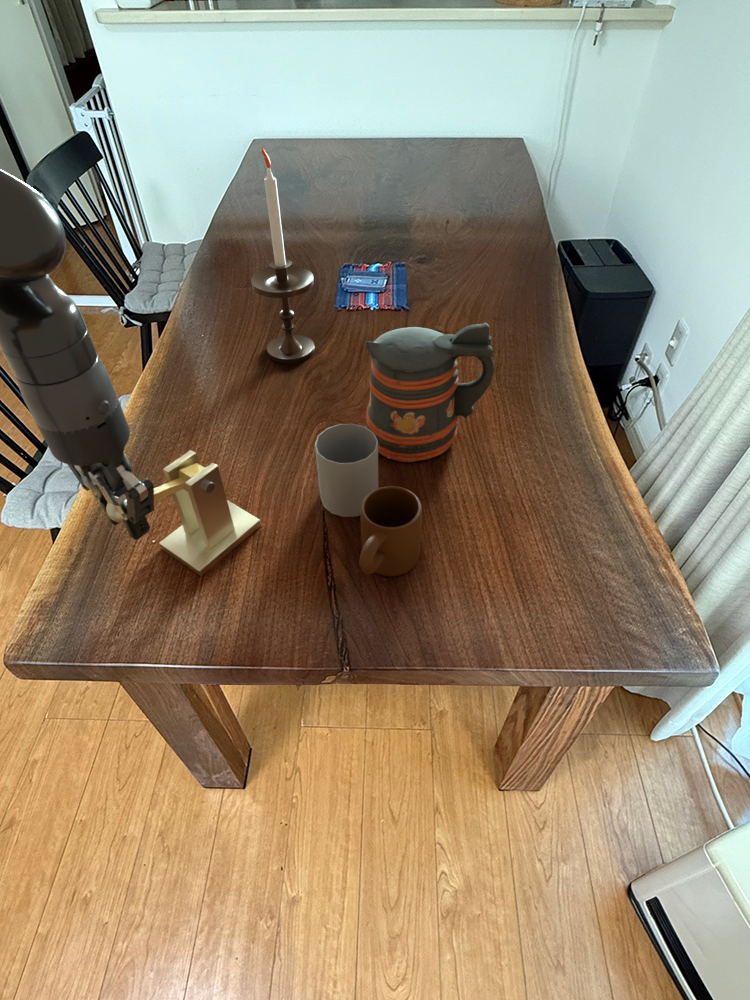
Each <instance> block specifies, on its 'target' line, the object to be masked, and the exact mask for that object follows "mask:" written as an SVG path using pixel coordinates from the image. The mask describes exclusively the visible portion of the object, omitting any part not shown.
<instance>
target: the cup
mask: <svg viewBox="0 0 750 1000" xmlns="http://www.w3.org/2000/svg"><path fill="white" fill-rule="evenodd" d="M314 451H315V458H316V459H315V460H316V461H315V462H316V468H317V469H316V470H317V479H318V487H319V488H318V489H319V498H320V501H321V505H322V507H323V508H325V510H327V512H329V513H330V514H331V515H336V516H339V517H341V518H355V517H359V516H361V505H362V502H363V500H364V498H365V497H366V496H367V495H368V494H369V493H370V492H371V491H373V490H375V489H377V488H379V453H378V441H377V438H376V436H375V434H374V433H373V432H372V431H370V430H369V429H367V428H366V427H365V426H363V425H360V424H355V423H339V424H336V425H332V426H330V427H326V428H325V429H324V430H323V431H322V432H321V433H319V434H318V435H317V436H316V440H315V442H314Z"/></svg>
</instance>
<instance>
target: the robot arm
mask: <svg viewBox="0 0 750 1000" xmlns="http://www.w3.org/2000/svg"><path fill="white" fill-rule="evenodd" d="M66 239H67V238H66V231H65V229H64V226H63V222H62V221H61V219H60V217H59V215H58V213H57V212H56V210H55V208H54V207H53V206H52V205H51V203H50V202H49V201H48V200H47V199H46V198H45V197H44V196H43V195H42V194H41V193H40V192H39V191H37V190H36V189H35V188H34V187H31V186H30V185H29V184H27V183H25V182H24V181H22V180H20V179H18V178H17V177H15V176H14V175H11V174H10V173H8V172H6V171H4V170H2V169H0V350H1V353H2V354H3V357H4V358H5V361H7V364H8V365H9V368H10V369H11V372H12V374H13V375H14V378H15V380H16V382H17V385H18V388H19V392H20V394H21V397H22V399H23V401H24V404H25V405H26V407H27V409H28V411H29V413H30V415H31V417H32V419H33V420H34V423H35V424H36V426H37V428H38V430H39V432H40V433H41V436H42V438H43V440H44V441H45V443H46V445H47V447H48V449H49V451H50V453H51V454H52V456H53V458H55V459H56V460H58V461H59V462H61V463H63V464H65V465H67V466H68V467H69V469H70V470H71V472H72V473H73V475H74V476H75V477H76V479H77V481H78V482H79V483H80V485H81V488H83V490H85V491H86V492H88V491H91V494H92V497H93V498H94V500H96V501H97V502H99V504H100V506H101V508H102V509H103V511H104V514H105V516H106V518H107V520H108V521H109V523H111V524H112V525H114V526H117V525H118V524H119V523H118V522H115V521H113V520H112V519H110V517H109V516H108V514H107V511H106V506H107V503H108V502H109V503H111V504H112V505H114V506H116V508H117V510H118V512H119V513H120V516H121V517H122V519H123V522H124V523H123V524H124V526H125V528H126V530H127V532H128V535H129V536H130V538H132V539H133V540H135V541H138V540H139V539H141V538H142V537H143V536H145V535H146V534H148V533H149V532H150V531H151V526H150V524H149V521H148V518H147V517H146V516H147V515H149V514H151V513H152V512H153V511H155V502H154V488H155V487H154V483H153V482H152V480H150V479H149V478H147V477H146V478H143V480H141V481H140V480H139V479H138V478H137V477H136V476H135V475H136V474H134V472H133V467H132V463H131V461H130V459H129V457H128V455H127V454H126V453H125V452H124V451H125V449H126V446H127V443H129V439H130V436H131V429H130V426H129V423H128V421H127V418H126V416H125V413H124V410H123V408H122V405H121V403H120V400H119V397H118V394H117V392H116V390H115V387H114V384H113V382H112V380H111V379H112V378H111V377H110V374H109V372H108V370H107V368H106V367H105V365H104V363H103V362H102V360H101V358H100V356H99V354H98V351H97V349H96V346H95V344H94V341H93V339H92V337H91V334H90V331H89V328H88V326H87V324H86V321H85V319H84V316H83V314H82V312H81V310H80V308H79V306H78V305H77V304H76V302H75V301H74V299H72V298H71V296H70V295H68V294H67V293H65V292H64V291H63V290H62V289H61V288H60V287H58V286H57V284H55V282H53V280H52V278H51V277H50V275H52V274H53V273H54V272H55V271H56V270H57V269H58V268H59V267H60V266H61V263H62V262H63V260H64V257H65V253H66V248H67V240H66ZM125 500H126V502H127V506H126V507H125V506H124V504H123V503H124V501H125Z"/></svg>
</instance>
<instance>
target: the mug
mask: <svg viewBox="0 0 750 1000" xmlns="http://www.w3.org/2000/svg"><path fill="white" fill-rule="evenodd" d="M422 510H423V507H422V502H421V500H420V499H419V497H418V496H417V495H416V494H415V493H414V492H412V491H411V490H409V489H407V488H405V487H401V486H396V485H386V486H381V487H378V488H377V489H375V490H373V491H371V492H370V493H369V494H368V495H367V496H366V497H365V498H364V500H363V502H362V505H361V515H359V516H360V540H361V541H360V543H361V551H360V555H359V569H360V570H361V572H362V573H364V574H365V575H371V574H374V573H376V574H377V575H380V576H384V577H397V576H401V575H405V574H407V573H409V571H411V570H412V569H413V568H414V567H415V566H416V565H417V563H418V560H419V557H420V551H421V540H422V539H421V538H422V525H423V511H422Z"/></svg>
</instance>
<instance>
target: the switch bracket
mask: <svg viewBox="0 0 750 1000" xmlns="http://www.w3.org/2000/svg"><path fill="white" fill-rule="evenodd" d="M196 463H198V464H199V465H200V462H199V458H198V455H197V453H196V452H195V451H194V450H192V449H190V450H188V451H187V452H186V453H184V454H183V455H181V456H180V457H178V458H176V459H175V460H173V462H171V463H170V464H168V465H167V466H165V467H164V468H163V469H162V471H163V475H164V476H165V480H166V481H167V482H166V483H168V482H171V481H173V480H176V479H178V478H179V470H181V469H183V468H186V467H188V466H191V465H193V464H196ZM204 468H205V469H203V470H202V471H200V472H199V473H198V474H196V475H195V476H194V477H192V478H191V479H189V480H188V481H187V482H185V484H186V487H187V490H188V492H187V491H186V490H184V489H182V490H180V491H178V492H175V493H173V494H171V497H172V499H173V502H174V505H175V507H176V511H177V513H178V517H179V519H180V521H181V525H180V526H178V527H177V528H176V529H175V530H173V531H172V532H171V533H169V534H168V535H167V536H166V537H164V538H163V539H162V540H161V541H159V542H158V546H159V547H160V549H161V550H162V551H164V553H167V554H168V555H169V556H171V557H172V558H173V559H175V560H176V561H178V562H180V563H181V565H184V566H185V567H187V568H188V569H189V570H191V571H192V572H194V573H195V574H197V575H198V576H199V577H202V576H204V574H206V573H207V572H209V571H210V570H211V569H212V568H213V567H214V566H216V565H217V564H218V563H219V562H220V561H222V560H223V559H224V558H225V557H227V556H228V554H230V553H231V552H232V551H233V550H235V549H236V548H237V547H238V546H240V544H241V543H243V542H244V541H245V540H246V539H247V538H249V537H250V536H252V534H254V532H255V531H257V530H258V529H259V528H260V527H262V523H261V519H259V518H258V517H256V516H254V515H253V514H251V513H250V512H248V511H246V510H244V509H242V508H241V507H239V506H237V505H236V504H234V503H232V502H231V501H229V500H228V498H227V494H226V490H225V487H224V483H223V479H222V474H221V472H220V467H219V465H218V464H216V463H214V462H211V463H210V464H209V465H207V466H206V467H204Z"/></svg>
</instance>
